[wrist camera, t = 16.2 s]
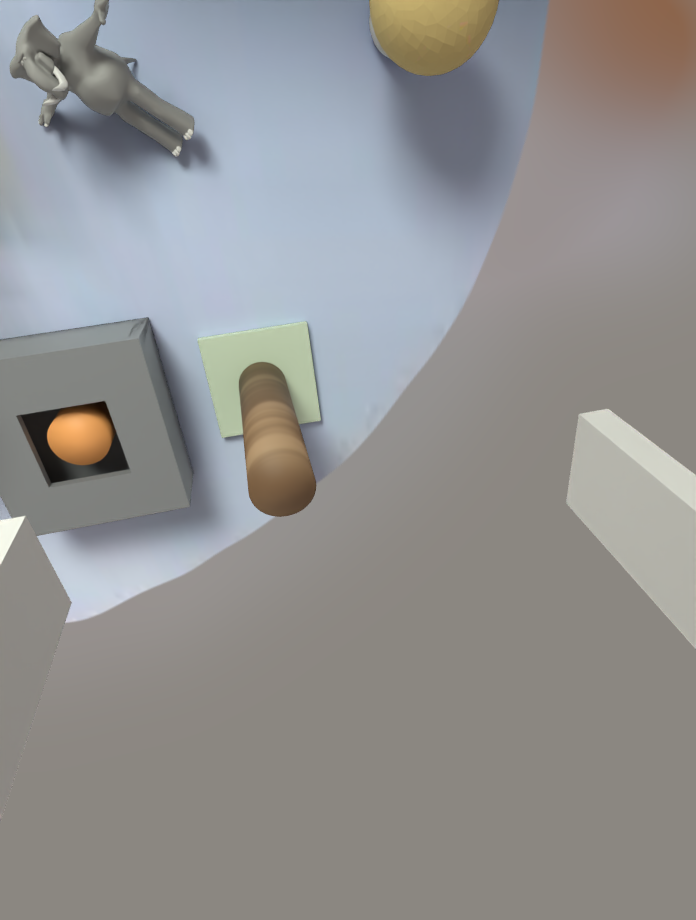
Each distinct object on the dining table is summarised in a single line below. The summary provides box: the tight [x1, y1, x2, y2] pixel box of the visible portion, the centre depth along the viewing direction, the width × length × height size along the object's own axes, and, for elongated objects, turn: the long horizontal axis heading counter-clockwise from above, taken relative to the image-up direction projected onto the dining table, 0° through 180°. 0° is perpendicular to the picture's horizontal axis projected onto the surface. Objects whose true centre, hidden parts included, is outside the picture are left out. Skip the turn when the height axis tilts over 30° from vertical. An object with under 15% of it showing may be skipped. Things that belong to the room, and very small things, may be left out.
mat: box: [198, 321, 321, 438], centre depth 42 cm, size 8×8×1 cm
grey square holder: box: [0, 318, 193, 536], centre depth 39 cm, size 13×12×5 cm
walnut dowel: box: [239, 362, 316, 517], centre depth 36 cm, size 4×4×15 cm
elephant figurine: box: [10, 0, 194, 157], centre depth 30 cm, size 10×6×9 cm
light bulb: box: [369, 0, 499, 76], centre depth 29 cm, size 6×6×10 cm
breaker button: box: [47, 401, 116, 465], centre depth 39 cm, size 4×4×3 cm
